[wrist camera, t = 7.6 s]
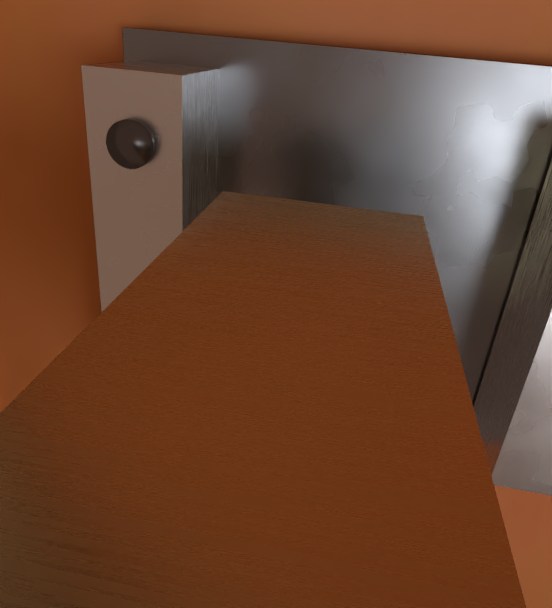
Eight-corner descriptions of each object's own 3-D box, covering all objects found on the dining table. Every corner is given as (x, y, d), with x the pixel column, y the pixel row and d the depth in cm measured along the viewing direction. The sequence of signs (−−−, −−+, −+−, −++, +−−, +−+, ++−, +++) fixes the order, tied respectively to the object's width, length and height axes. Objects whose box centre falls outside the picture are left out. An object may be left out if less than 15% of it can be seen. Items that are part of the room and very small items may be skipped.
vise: (728, 82, 17) (872, 99, 12) (571, 440, 24) (622, 544, 19) (136, 28, 19) (52, 23, 14) (149, 368, 26) (95, 444, 21)
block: (423, 216, 13) (647, 1065, 2) (369, 461, 16) (358, 1217, 6) (223, 190, 13) (-356, 769, 3) (215, 433, 17) (-48, 1079, 6)
